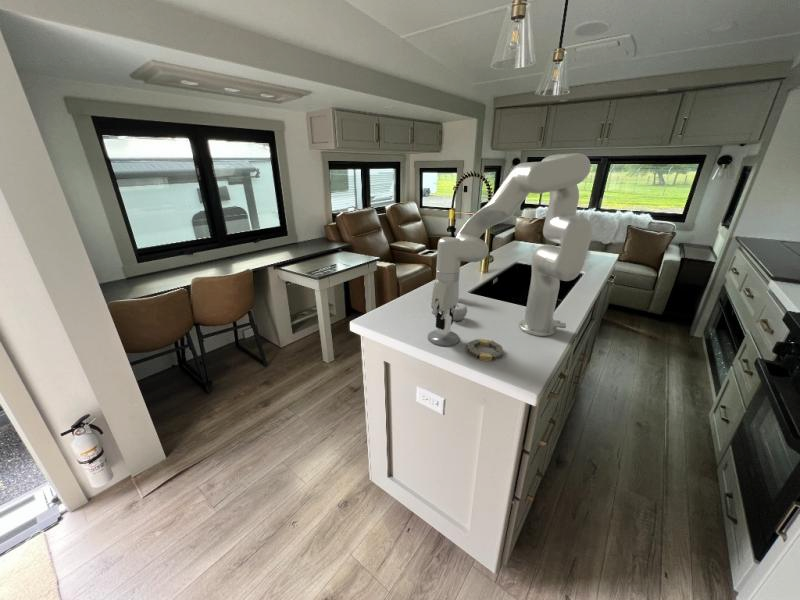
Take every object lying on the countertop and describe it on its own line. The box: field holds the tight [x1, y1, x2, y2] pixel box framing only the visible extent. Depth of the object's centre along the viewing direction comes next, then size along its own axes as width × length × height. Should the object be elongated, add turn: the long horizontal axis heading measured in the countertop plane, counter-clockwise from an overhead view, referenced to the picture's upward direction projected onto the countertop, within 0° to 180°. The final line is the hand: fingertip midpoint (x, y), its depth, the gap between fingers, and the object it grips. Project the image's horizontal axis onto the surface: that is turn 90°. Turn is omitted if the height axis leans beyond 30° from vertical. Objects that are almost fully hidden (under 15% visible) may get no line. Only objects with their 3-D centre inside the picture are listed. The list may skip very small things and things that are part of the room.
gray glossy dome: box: [427, 329, 460, 347], centre depth 111 cm, size 11×11×1 cm
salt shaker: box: [436, 308, 452, 335], centre depth 109 cm, size 4×4×10 cm
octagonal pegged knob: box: [453, 302, 468, 322], centre depth 125 cm, size 8×8×7 cm
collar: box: [467, 338, 504, 362], centre depth 103 cm, size 11×11×2 cm
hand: (444, 325), depth 110 cm, fingers closed on salt shaker, 4 cm apart
